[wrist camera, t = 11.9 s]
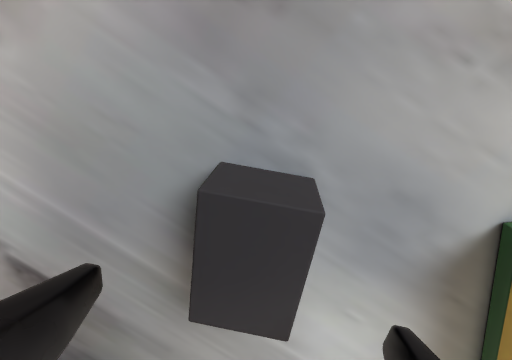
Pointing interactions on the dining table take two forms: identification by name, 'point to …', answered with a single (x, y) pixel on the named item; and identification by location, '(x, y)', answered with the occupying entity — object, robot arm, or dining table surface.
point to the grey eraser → (253, 249)
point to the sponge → (501, 304)
